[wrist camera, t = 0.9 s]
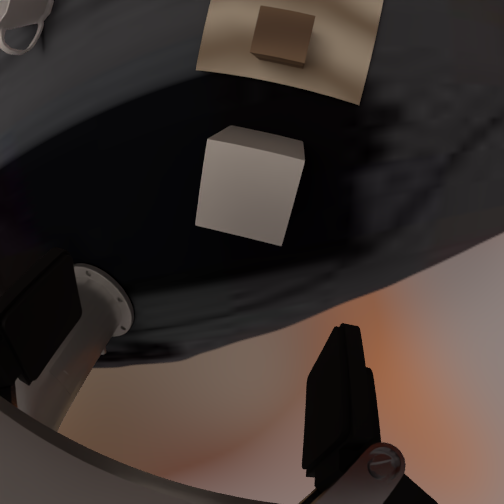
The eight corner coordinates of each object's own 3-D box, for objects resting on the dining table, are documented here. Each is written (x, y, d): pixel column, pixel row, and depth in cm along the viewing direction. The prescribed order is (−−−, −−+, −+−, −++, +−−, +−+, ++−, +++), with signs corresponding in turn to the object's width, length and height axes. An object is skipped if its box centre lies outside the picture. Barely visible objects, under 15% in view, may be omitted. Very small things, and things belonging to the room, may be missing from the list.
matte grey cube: (285, 207, 29) (281, 246, 23) (219, 191, 30) (195, 225, 23) (303, 141, 26) (305, 160, 19) (231, 125, 26) (207, 138, 19)
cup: (62, -26, 18) (15, -36, 11) (64, 40, 22) (12, 40, 15) (23, 0, 19) (-22, -2, 12) (25, 63, 24) (-23, 70, 17)
